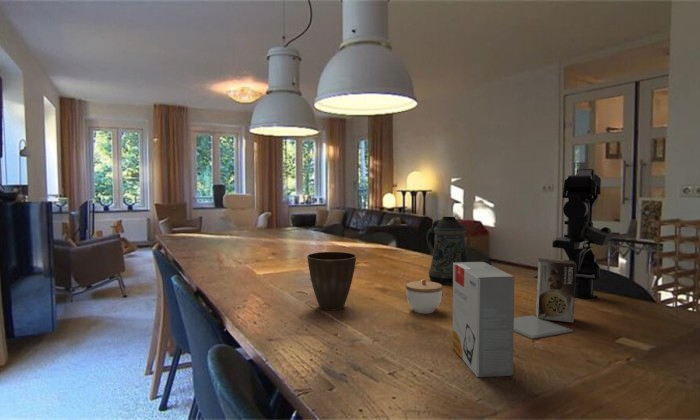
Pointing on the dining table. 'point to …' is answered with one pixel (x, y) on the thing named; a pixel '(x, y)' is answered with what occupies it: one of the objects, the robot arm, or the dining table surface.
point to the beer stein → (446, 249)
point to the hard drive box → (483, 318)
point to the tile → (537, 327)
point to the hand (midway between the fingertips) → (576, 270)
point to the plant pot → (331, 277)
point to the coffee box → (556, 290)
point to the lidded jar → (423, 295)
